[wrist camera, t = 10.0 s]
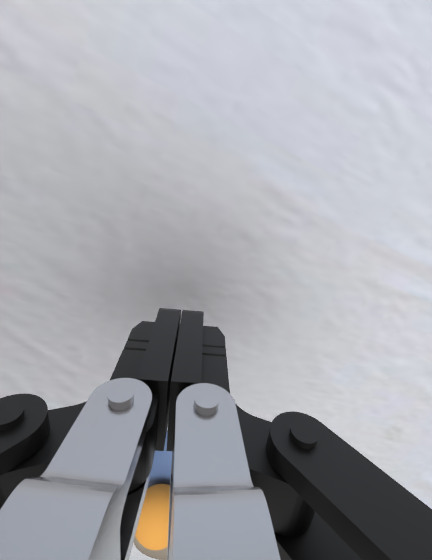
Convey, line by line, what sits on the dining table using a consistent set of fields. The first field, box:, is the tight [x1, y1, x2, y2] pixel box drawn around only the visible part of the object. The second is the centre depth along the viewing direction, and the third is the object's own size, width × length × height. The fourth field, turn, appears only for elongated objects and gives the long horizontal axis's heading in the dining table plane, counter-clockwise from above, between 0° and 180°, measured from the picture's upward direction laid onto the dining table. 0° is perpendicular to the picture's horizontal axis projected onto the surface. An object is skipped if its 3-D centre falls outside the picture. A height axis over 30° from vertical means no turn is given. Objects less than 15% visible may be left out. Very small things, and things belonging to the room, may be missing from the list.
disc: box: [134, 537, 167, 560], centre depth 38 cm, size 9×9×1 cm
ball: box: [135, 484, 170, 550], centre depth 31 cm, size 6×6×6 cm
